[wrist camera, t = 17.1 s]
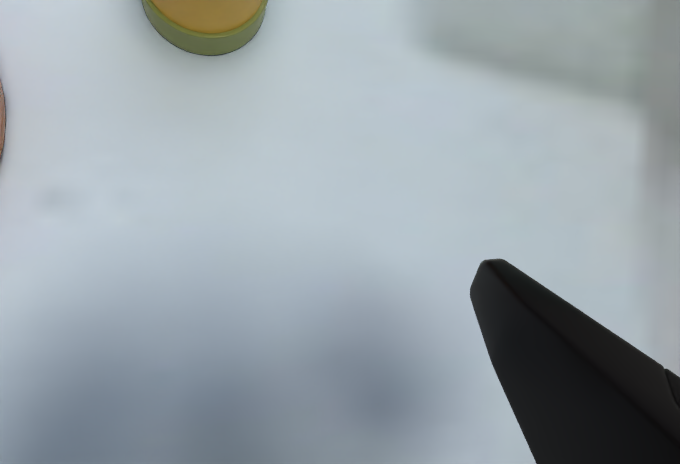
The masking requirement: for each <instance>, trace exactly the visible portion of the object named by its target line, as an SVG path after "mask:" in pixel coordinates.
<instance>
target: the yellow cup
mask: <svg viewBox="0 0 680 464" xmlns="http://www.w3.org/2000/svg"><path fill="white" fill-rule="evenodd" d="M267 2H268V0H142V3H143V7H144V10H145V12H146V15H147V17H148V18H149V20H150V22H151V23H152V25H153V26H154V27H155V29H156V30H157V31H158V32H159V33H160V34H161V35H162V36H163V37H164V38H165V39H167V40H168V41H169V42H171V43H172V44H174V45H175V46H177V47H179V48H181V49H183V50H186V51H189V52H192V53H196V54H201V55H219V54H225V53H228V52H232V51H234V50H236V49H239V48H240V47H242V46H243V45H245V44H246V43H247V42H248V41H250V40H251V39H252V38H253V36H254V35H255V34H256V32H257V31H258V29H259V28H260V26H261V23H262V21H263V17H264V14H265V10H266V6H267Z"/></svg>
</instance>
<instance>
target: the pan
mask: <svg viewBox="0 0 680 464" xmlns="http://www.w3.org/2000/svg"><path fill="white" fill-rule="evenodd" d="M5 122H6V118H5V103H4V95H3V90H2V86H1V81H0V157H1V153H2V148H3V144H4V134H5Z"/></svg>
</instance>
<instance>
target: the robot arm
mask: <svg viewBox="0 0 680 464" xmlns="http://www.w3.org/2000/svg"><path fill="white" fill-rule="evenodd" d="M470 298H471V301H472V304H473V308H474V311H475V314H476V317H477V320H478V323H479V326H480V329H481V332H482V335H483V338H484V341H485V344H486V347H487V350H488V354H489V356H490V359H491V362H492V365H493V367H494V369H495V372H496V374H497V376H498V379H499V381H500V383H501V385H502V387H503V390H504V392H505V394H506V396H507V399H508V401H509V403H510V405H511V408H512V410H513V412H514V414H515V416H516V419H517V421H518V423H519V425H520V428H521V430H522V432H523V434H524V436H525V439H526V441H527V443H528V445H529V448H530V450H531V452H532V454H533V457H534V459H535V461H536V463H537V464H680V377H679V376H677V375H676V374H674V373H673V372H671V371H670V370H668V369H664V367H663V366H662V365H661V364H659V363H658V362H656V361H655V360H653V359H652V358H650V357H649V356H647V355H646V354H644V353H643V352H641V351H640V350H638V349H637V348H635V347H634V346H632V345H631V344H629V343H628V342H626V341H625V340H623V339H622V338H620V337H619V336H617V335H616V334H614V333H613V332H611V331H610V330H608V329H607V328H605V327H604V326H602V325H601V324H599V323H598V322H596V321H595V320H593V319H592V318H590V317H589V316H587V315H586V314H584V313H583V312H581V311H580V310H578V309H577V308H575V307H574V306H573V305H571V304H570V303H568V302H567V301H565V300H564V299H562V298H561V297H559V296H558V295H556V294H555V293H553V292H552V291H550V290H549V289H547V288H546V287H544V286H543V285H541V284H540V283H538V282H537V281H535V280H534V279H532V278H531V277H529V276H528V275H526V274H525V273H523V272H522V271H520V270H519V269H517V268H516V267H514V266H513V265H511V264H510V263H508V262H507V261H505V260H503V259H490V260H484V261H483V262H481V264H480V265H479V268H478V270H477V273H476V275H475V278H474V280H473V282H472V285H471V288H470Z"/></svg>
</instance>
